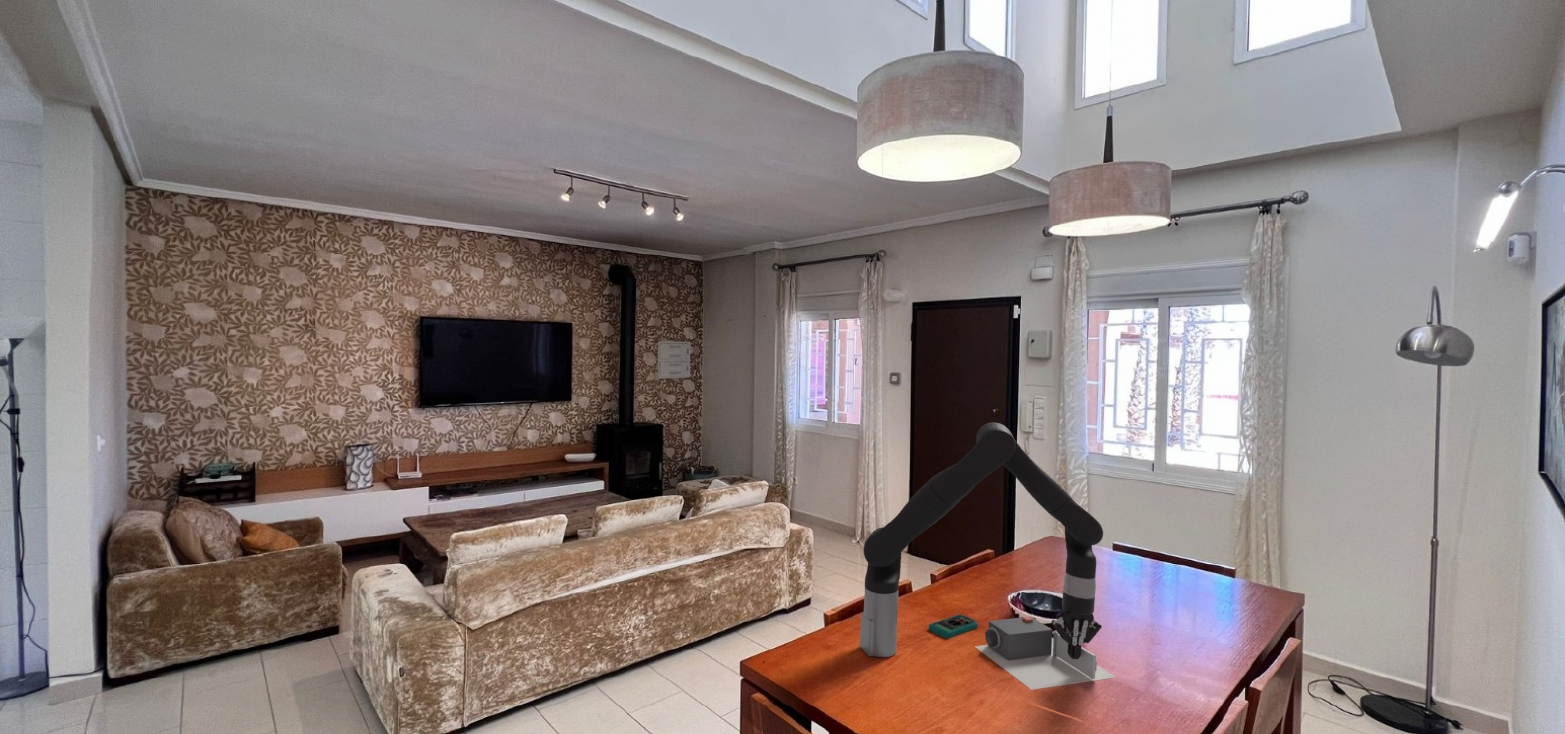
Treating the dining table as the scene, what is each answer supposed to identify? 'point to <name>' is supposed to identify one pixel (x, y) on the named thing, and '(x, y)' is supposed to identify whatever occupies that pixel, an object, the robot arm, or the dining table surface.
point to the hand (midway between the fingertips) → (1073, 657)
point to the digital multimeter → (953, 626)
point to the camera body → (1019, 638)
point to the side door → (1083, 664)
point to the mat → (1043, 670)
